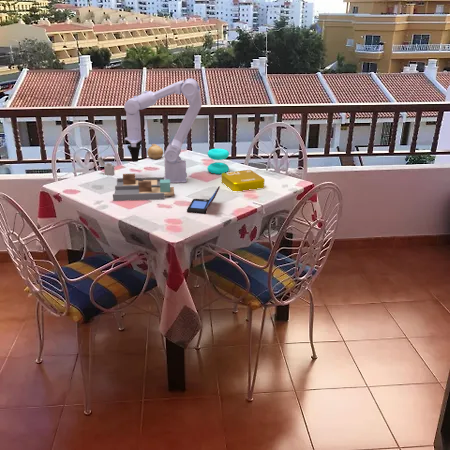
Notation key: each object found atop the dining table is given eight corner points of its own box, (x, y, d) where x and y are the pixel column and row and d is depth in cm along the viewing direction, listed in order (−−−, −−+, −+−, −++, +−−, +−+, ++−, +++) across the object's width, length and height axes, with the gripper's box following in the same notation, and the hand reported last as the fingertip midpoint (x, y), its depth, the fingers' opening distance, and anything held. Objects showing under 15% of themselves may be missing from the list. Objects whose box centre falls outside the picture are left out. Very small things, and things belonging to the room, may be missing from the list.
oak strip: (173, 188, 198) (173, 177, 196) (174, 195, 192) (173, 184, 190) (139, 189, 197) (139, 178, 195) (138, 196, 190) (138, 184, 188)
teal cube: (170, 188, 196) (169, 179, 195) (170, 192, 193) (170, 182, 191) (160, 188, 196) (160, 179, 194) (160, 192, 192) (159, 182, 191)
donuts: (233, 150, 221) (220, 155, 213) (232, 170, 225) (220, 176, 217) (215, 146, 226) (203, 151, 218) (215, 166, 230) (203, 172, 223)
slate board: (164, 182, 208) (164, 177, 207) (164, 199, 190) (164, 193, 189) (117, 183, 206) (117, 178, 205) (113, 200, 188) (112, 194, 187)
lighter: (114, 174, 217) (113, 157, 214) (113, 175, 216) (111, 158, 212) (100, 173, 219) (98, 156, 215) (98, 174, 217) (97, 157, 214)
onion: (165, 156, 245) (164, 142, 242) (160, 160, 238) (160, 146, 235) (150, 155, 246) (149, 141, 243) (145, 159, 239) (144, 145, 236)
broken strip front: (138, 182, 205) (137, 171, 203) (137, 188, 198) (136, 177, 196) (124, 182, 205) (123, 171, 203) (122, 188, 198) (122, 177, 196)
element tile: (234, 193, 199) (234, 182, 197) (219, 182, 211) (220, 171, 209) (265, 189, 204) (266, 178, 202) (250, 178, 217) (250, 168, 215)
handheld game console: (193, 201, 190) (193, 183, 187) (220, 203, 189) (220, 185, 185) (185, 213, 179) (185, 194, 176) (214, 215, 177) (214, 196, 174)
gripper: (125, 124, 208) (127, 154, 214) (122, 132, 195) (125, 164, 201) (141, 123, 209) (143, 154, 214) (140, 131, 196) (142, 163, 201)
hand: (135, 158), depth 208 cm, fingers open, 7 cm apart
